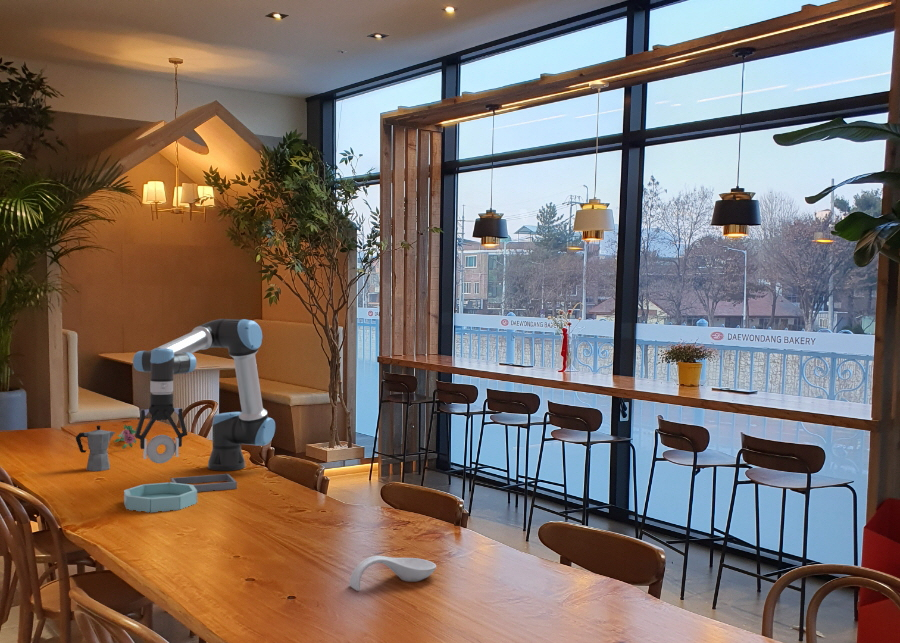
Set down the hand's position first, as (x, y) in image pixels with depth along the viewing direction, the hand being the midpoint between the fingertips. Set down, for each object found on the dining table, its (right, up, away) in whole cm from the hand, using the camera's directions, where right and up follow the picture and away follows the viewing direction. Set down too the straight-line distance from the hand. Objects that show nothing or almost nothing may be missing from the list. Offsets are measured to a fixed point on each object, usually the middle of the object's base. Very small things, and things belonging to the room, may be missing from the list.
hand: (161, 457), depth 288 cm
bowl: (0, -16, +1) cm, 16 cm away
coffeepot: (-45, -14, +53) cm, 71 cm away
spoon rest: (+86, -20, -73) cm, 115 cm away
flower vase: (-53, -12, +107) cm, 120 cm away
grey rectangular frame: (+7, -15, +26) cm, 31 cm away
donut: (0, -2, 0) cm, 2 cm away
